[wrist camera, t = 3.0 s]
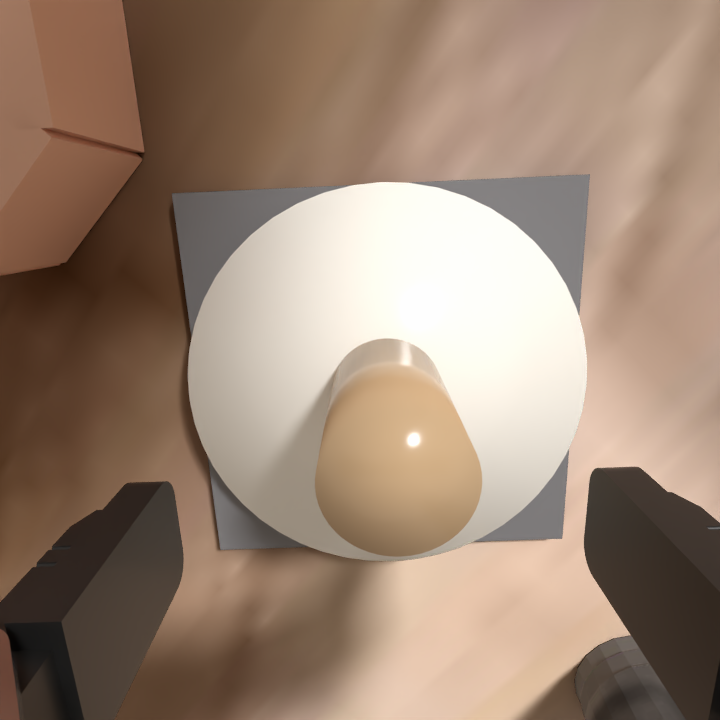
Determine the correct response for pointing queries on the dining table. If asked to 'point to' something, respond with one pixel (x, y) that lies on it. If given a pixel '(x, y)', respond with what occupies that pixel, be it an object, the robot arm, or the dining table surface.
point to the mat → (256, 207)
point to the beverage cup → (622, 685)
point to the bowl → (62, 125)
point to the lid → (387, 371)
